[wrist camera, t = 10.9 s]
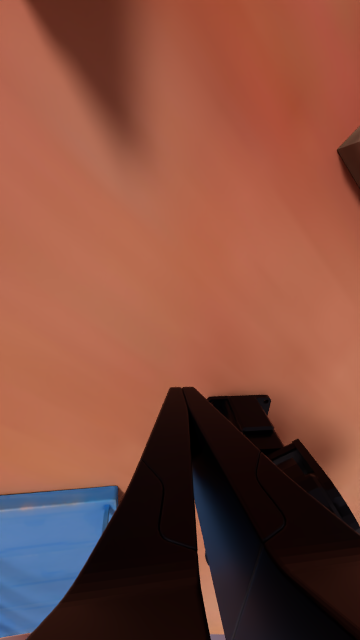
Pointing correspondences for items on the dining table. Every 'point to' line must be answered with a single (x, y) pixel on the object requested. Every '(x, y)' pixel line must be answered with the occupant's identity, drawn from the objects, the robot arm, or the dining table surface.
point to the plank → (352, 154)
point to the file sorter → (46, 549)
